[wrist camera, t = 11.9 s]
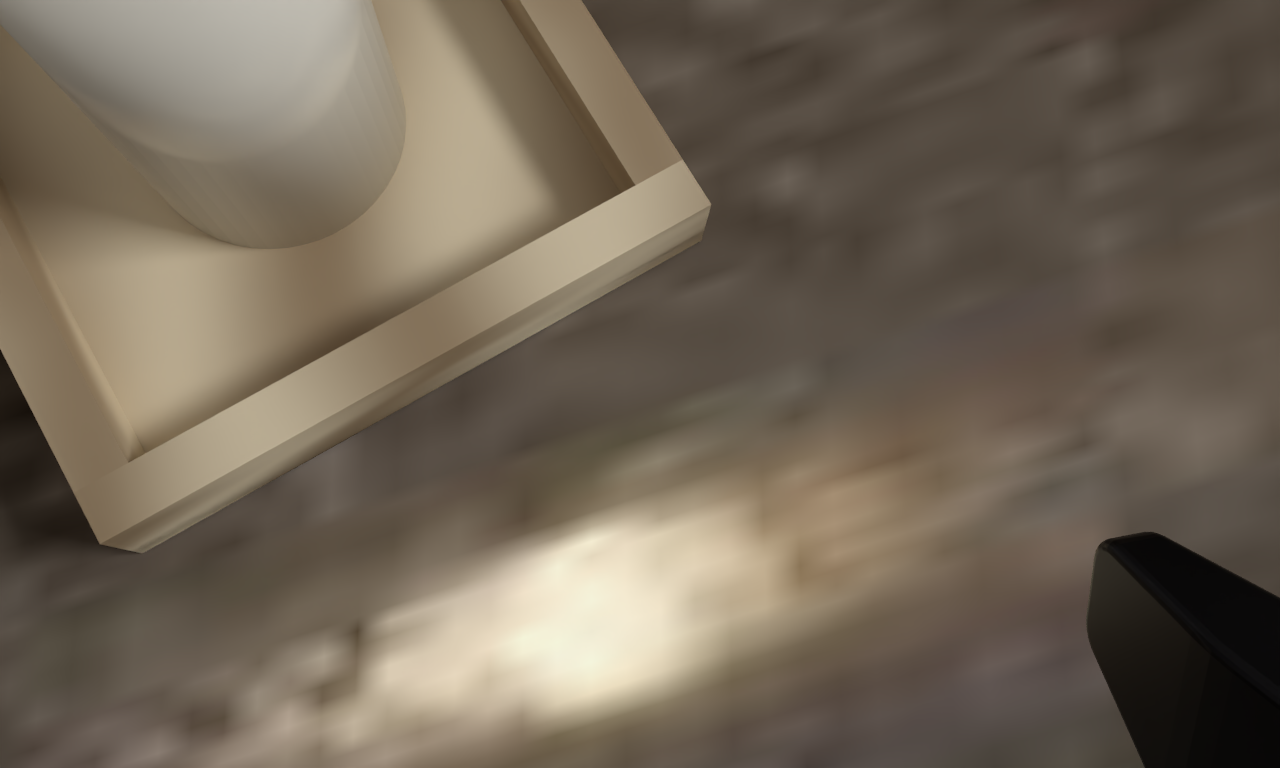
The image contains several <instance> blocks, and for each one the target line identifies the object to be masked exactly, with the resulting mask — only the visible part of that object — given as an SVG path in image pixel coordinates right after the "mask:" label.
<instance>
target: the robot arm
mask: <svg viewBox="0 0 1280 768" xmlns="http://www.w3.org/2000/svg"><path fill="white" fill-rule="evenodd" d="M1086 625H1087V633H1088V638H1089V642H1090V645H1091V648H1092V650H1093V653H1094V655H1095V657H1096V660H1097V662H1098V664H1099V666H1100V669H1101V671H1102V673H1103V675H1104V677H1105V680H1106V682H1107V684H1108V686H1109V689H1110V691H1111V693H1112V695H1113V698H1114V700H1115V702H1116V704H1117V707H1118V709H1119V711H1120V713H1121V716H1122V718H1123V720H1124V722H1125V724H1126V727H1127V729H1128V731H1129V733H1130V736H1131V738H1132V740H1133V742H1134V745H1135V747H1136V749H1137V751H1138V754H1139V756H1140V758H1141V760H1142V763H1143V765H1144V767H1145V768H1280V598H1279V597H1278V596H1276V595H1274V594H1272V593H1270V592H1268V591H1266V590H1264V589H1263V588H1261V587H1259V586H1257V585H1255V584H1253V583H1251V582H1249V581H1248V580H1246V579H1244V578H1242V577H1240V576H1238V575H1236V574H1234V573H1233V572H1231V571H1229V570H1227V569H1225V568H1223V567H1221V566H1219V565H1218V564H1216V563H1214V562H1212V561H1210V560H1208V559H1206V558H1204V557H1202V556H1201V555H1199V554H1197V553H1195V552H1193V551H1191V550H1189V549H1187V548H1186V547H1184V546H1182V545H1180V544H1178V543H1176V542H1174V541H1172V540H1171V539H1169V538H1167V537H1165V536H1163V535H1160V534H1158V533H1154V532H1142V533H1137V534H1132V535H1126V536H1121V537H1116V538H1111V539H1107V540H1105V541H1103V542H1102V543H1101V544H1100V545H1099V546H1098V548H1097V550H1096V553H1095V557H1094V564H1093V571H1092V578H1091V586H1090V593H1089V600H1088V608H1087V616H1086Z"/></svg>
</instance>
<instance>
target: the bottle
mask: <svg viewBox="0 0 1280 768" xmlns="http://www.w3.org/2000/svg"><path fill="white" fill-rule="evenodd" d="M0 25H1V26H2V27H3V28H4V29H5V30H6V31H7V32H8V33H9V34H10V35H11V36H12V37H13V38H14V40H15V41H16V42H17V43H18V44H19V45H20V46H21V47H22V48H23V49H24V50H25V51H26V52H27V53H28V54H29V56H30V57H31V58H32V59H33V60H34V61H35V62H36V63H37V64H38V65H39V66H40V67H41V68H42V69H43V70H44V72H45V73H46V74H47V75H48V76H49V77H50V78H51V79H52V80H53V81H54V82H55V83H56V84H57V85H58V86H59V88H60V89H61V90H62V91H63V92H64V93H65V94H66V95H67V96H68V97H69V98H70V99H71V100H72V101H73V102H74V104H75V105H76V106H77V107H78V108H79V109H80V110H81V111H82V112H83V113H84V114H85V115H86V116H87V117H88V119H89V120H90V121H91V122H92V123H93V124H94V125H95V126H96V127H97V128H98V129H99V130H100V131H101V132H102V133H103V135H104V136H105V137H106V138H107V139H108V140H109V141H110V142H111V143H112V144H113V145H114V146H115V147H116V148H117V149H118V151H119V152H120V153H121V154H122V155H123V156H124V157H125V158H126V159H127V160H128V161H129V162H130V163H131V164H132V165H133V167H134V168H135V169H136V170H137V171H138V172H139V173H140V174H141V175H142V176H143V177H144V178H145V179H146V180H147V181H148V183H149V184H150V185H151V186H152V187H153V188H154V189H155V190H156V191H157V192H158V193H159V194H160V195H161V196H162V197H163V199H164V200H165V201H166V202H167V203H168V204H169V205H170V206H171V207H172V208H173V209H174V210H175V211H176V212H177V213H178V214H179V215H180V216H181V217H182V218H184V219H185V220H186V221H187V222H188V223H189V224H191V225H193V226H194V227H196V228H197V229H199V230H200V231H202V232H203V233H206V234H208V235H210V236H212V237H214V238H216V239H218V240H221V241H224V242H227V243H230V244H233V245H238V246H243V247H249V248H259V249H279V248H290V247H295V246H300V245H305V244H308V243H311V242H314V241H318V240H321V239H323V238H325V237H327V236H330V235H332V234H334V233H336V232H338V231H340V230H341V229H343V228H344V227H346V226H348V225H349V224H351V223H352V222H354V221H355V220H356V219H357V218H359V217H360V216H361V215H362V214H364V213H365V212H366V211H367V210H368V209H369V208H370V207H371V206H372V205H373V204H374V203H375V202H376V201H377V199H378V198H379V197H380V195H381V194H382V193H383V191H384V190H385V189H386V187H387V186H388V184H389V182H390V180H391V179H392V177H393V175H394V173H395V171H396V168H397V166H398V163H399V161H400V158H401V155H402V151H403V146H404V142H405V133H406V110H405V105H404V99H403V94H402V91H401V88H400V85H399V82H398V79H397V76H396V73H395V70H394V67H393V64H392V61H391V58H390V55H389V52H388V49H387V46H386V43H385V40H384V37H383V34H382V31H381V28H380V25H379V22H378V19H377V16H376V13H375V10H374V7H373V4H372V1H371V0H0Z"/></svg>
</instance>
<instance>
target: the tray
mask: <svg viewBox="0 0 1280 768" xmlns="http://www.w3.org/2000/svg"><path fill="white" fill-rule="evenodd" d="M371 1H372V4H373V7H374V10H375V13H376V16H377V19H378V22H379V25H380V28H381V31H382V34H383V37H384V40H385V43H386V46H387V49H388V52H389V55H390V58H391V61H392V64H393V67H394V70H395V73H396V76H397V79H398V82H399V85H400V88H401V91H402V94H403V99H404V105H405V110H406V133H405V142H404V146H403V151H402V155H401V158H400V161H399V163H398V166H397V168H396V171H395V173H394V175H393V177H392V179H391V180H390V182H389V184H388V186H387V187H386V189H385V190H384V191H383V193H382V194H381V195H380V197H379V198H378V199H377V201H376V202H375V203H374V204H373V205H372V206H371V207H370V208H369V209H368V210H367V211H366V212H365V213H364V214H362V215H361V216H360V217H359V218H357V219H356V220H355V221H354V222H352V223H351V224H349V225H348V226H346V227H344V228H343V229H341V230H340V231H338V232H336V233H334V234H332V235H330V236H327V237H325V238H323V239H321V240H318V241H314V242H311V243H308V244H305V245H300V246H295V247H290V248H279V249H259V248H249V247H243V246H238V245H233V244H230V243H227V242H224V241H221V240H218V239H216V238H214V237H212V236H210V235H208V234H206V233H203V232H202V231H200V230H199V229H197V228H196V227H194V226H193V225H191V224H189V223H188V222H187V221H186V220H185V219H184V218H182V217H181V216H180V215H179V214H178V213H177V212H176V211H175V210H174V209H173V208H172V207H171V206H170V205H169V204H168V203H167V202H166V201H165V200H164V199H163V197H162V196H161V195H160V194H159V193H158V192H157V191H156V190H155V189H154V188H153V187H152V186H151V185H150V184H149V183H148V181H147V180H146V179H145V178H144V177H143V176H142V175H141V174H140V173H139V172H138V171H137V170H136V169H135V168H134V167H133V165H132V164H131V163H130V162H129V161H128V160H127V159H126V158H125V157H124V156H123V155H122V154H121V153H120V152H119V151H118V149H117V148H116V147H115V146H114V145H113V144H112V143H111V142H110V141H109V140H108V139H107V138H106V137H105V136H104V135H103V133H102V132H101V131H100V130H99V129H98V128H97V127H96V126H95V125H94V124H93V123H92V122H91V121H90V120H89V119H88V117H87V116H86V115H85V114H84V113H83V112H82V111H81V110H80V109H79V108H78V107H77V106H76V105H75V104H74V102H73V101H72V100H71V99H70V98H69V97H68V96H67V95H66V94H65V93H64V92H63V91H62V90H61V89H60V88H59V86H58V85H57V84H56V83H55V82H54V81H53V80H52V79H51V78H50V77H49V76H48V75H47V74H46V73H45V72H44V70H43V69H42V68H41V67H40V66H39V65H38V64H37V63H36V62H35V61H34V60H33V59H32V58H31V57H30V56H29V54H28V53H27V52H26V51H25V50H24V49H23V48H22V47H21V46H20V45H19V44H18V43H17V42H16V41H15V40H14V38H13V37H12V36H11V35H10V34H9V33H8V32H7V31H6V30H5V29H4V28H3V27H2V26H1V25H0V349H1V351H2V353H3V355H4V357H5V359H6V361H7V363H8V365H9V367H10V369H11V371H12V373H13V375H14V377H15V379H16V381H17V383H18V385H19V387H20V389H21V391H22V393H23V395H24V396H25V398H26V400H27V402H28V404H29V406H30V408H31V410H32V412H33V414H34V416H35V418H36V420H37V422H38V424H39V426H40V428H41V430H42V432H43V434H44V436H45V438H46V440H47V442H48V444H49V446H50V447H51V449H52V451H53V453H54V455H55V457H56V459H57V461H58V463H59V465H60V467H61V469H62V471H63V473H64V475H65V477H66V479H67V481H68V483H69V485H70V487H71V489H72V491H73V493H74V495H75V496H76V498H77V500H78V502H79V504H80V506H81V508H82V510H83V512H84V514H85V516H86V518H87V520H88V522H89V524H90V526H91V528H92V530H93V532H94V534H95V536H96V538H97V540H98V542H99V544H101V545H106V546H110V547H115V548H120V549H124V550H129V551H133V552H138V553H144V552H146V551H148V550H149V549H151V548H153V547H155V546H157V545H158V544H160V543H162V542H164V541H165V540H167V539H169V538H171V537H173V536H174V535H176V534H178V533H180V532H182V531H183V530H185V529H187V528H189V527H190V526H192V525H194V524H196V523H198V522H199V521H201V520H203V519H205V518H207V517H208V516H210V515H212V514H214V513H215V512H217V511H219V510H221V509H223V508H224V507H226V506H228V505H230V504H232V503H233V502H235V501H237V500H239V499H240V498H242V497H244V496H246V495H248V494H249V493H251V492H253V491H255V490H257V489H258V488H260V487H262V486H264V485H265V484H267V483H269V482H271V481H273V480H274V479H276V478H278V477H280V476H282V475H283V474H285V473H287V472H289V471H291V470H292V469H294V468H296V467H298V466H299V465H301V464H303V463H305V462H307V461H308V460H310V459H312V458H314V457H316V456H317V455H319V454H321V453H323V452H324V451H326V450H328V449H330V448H332V447H333V446H335V445H337V444H339V443H341V442H342V441H344V440H346V439H348V438H349V437H351V436H353V435H355V434H357V433H358V432H360V431H362V430H364V429H366V428H367V427H369V426H371V425H373V424H374V423H376V422H378V421H380V420H382V419H383V418H385V417H387V416H389V415H391V414H392V413H394V412H396V411H398V410H399V409H401V408H403V407H405V406H407V405H408V404H410V403H412V402H414V401H416V400H417V399H419V398H421V397H423V396H425V395H426V394H428V393H430V392H432V391H433V390H435V389H437V388H439V387H441V386H442V385H444V384H446V383H448V382H450V381H451V380H453V379H455V378H457V377H458V376H460V375H462V374H464V373H466V372H467V371H469V370H471V369H473V368H475V367H476V366H478V365H480V364H482V363H483V362H485V361H487V360H489V359H491V358H492V357H494V356H496V355H498V354H500V353H501V352H503V351H505V350H507V349H508V348H510V347H512V346H514V345H516V344H517V343H519V342H521V341H523V340H525V339H526V338H528V337H530V336H532V335H533V334H535V333H537V332H539V331H541V330H542V329H544V328H546V327H548V326H550V325H551V324H553V323H555V322H557V321H559V320H560V319H562V318H564V317H566V316H567V315H569V314H571V313H573V312H575V311H576V310H578V309H580V308H582V307H584V306H585V305H587V304H589V303H591V302H592V301H594V300H596V299H598V298H600V297H601V296H603V295H605V294H607V293H609V292H610V291H612V290H614V289H616V288H617V287H619V286H621V285H623V284H625V283H626V282H628V281H630V280H632V279H634V278H635V277H637V276H639V275H641V274H642V273H644V272H646V271H648V270H650V269H651V268H653V267H655V266H657V265H659V264H660V263H662V262H664V261H666V260H668V259H669V258H671V257H673V256H675V255H676V254H678V253H680V252H682V251H684V250H685V249H687V248H689V247H691V246H693V245H694V244H696V243H698V242H700V241H701V239H702V236H703V232H704V229H705V225H706V222H707V218H708V214H709V211H710V207H711V203H710V202H709V200H708V199H707V197H706V196H705V194H704V192H703V191H702V189H701V188H700V186H699V185H698V183H697V181H696V180H695V178H694V177H693V175H692V174H691V172H690V170H689V169H688V167H687V166H686V164H685V163H684V161H683V159H682V158H681V156H680V155H679V153H678V152H677V150H676V148H675V147H674V145H673V144H672V142H671V141H670V139H669V137H668V136H667V134H666V133H665V131H664V130H663V128H662V126H661V125H660V123H659V122H658V120H657V119H656V117H655V115H654V114H653V112H652V111H651V109H650V108H649V106H648V104H647V103H646V101H645V100H644V98H643V96H642V95H641V93H640V92H639V90H638V89H637V87H636V85H635V84H634V82H633V81H632V79H631V78H630V76H629V74H628V73H627V71H626V70H625V68H624V67H623V65H622V63H621V62H620V60H619V59H618V57H617V56H616V54H615V52H614V51H613V49H612V48H611V46H610V45H609V43H608V41H607V40H606V38H605V37H604V35H603V34H602V32H601V30H600V29H599V27H598V26H597V24H596V23H595V21H594V19H593V18H592V16H591V15H590V13H589V12H588V10H587V8H586V7H585V5H584V4H583V2H582V1H581V0H371Z"/></svg>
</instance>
